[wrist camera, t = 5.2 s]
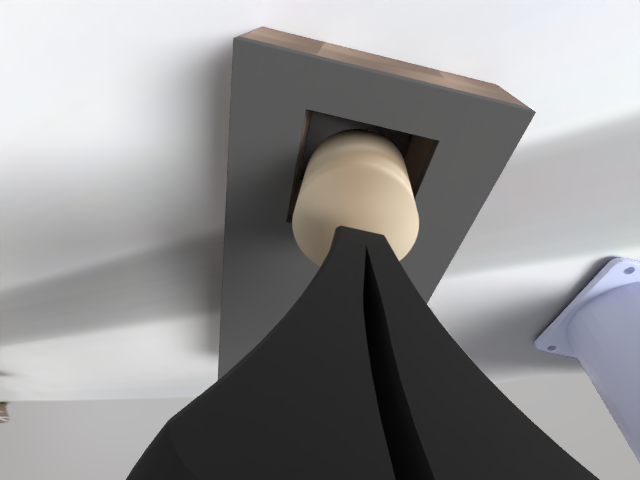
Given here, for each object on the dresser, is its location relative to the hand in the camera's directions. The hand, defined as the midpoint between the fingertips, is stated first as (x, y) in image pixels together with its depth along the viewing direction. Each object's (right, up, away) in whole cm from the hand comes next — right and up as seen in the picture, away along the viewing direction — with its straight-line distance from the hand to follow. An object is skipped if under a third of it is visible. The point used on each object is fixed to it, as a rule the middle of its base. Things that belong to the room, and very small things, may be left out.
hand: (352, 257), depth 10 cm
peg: (+1, +3, +4) cm, 5 cm away
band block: (0, 0, +11) cm, 11 cm away
